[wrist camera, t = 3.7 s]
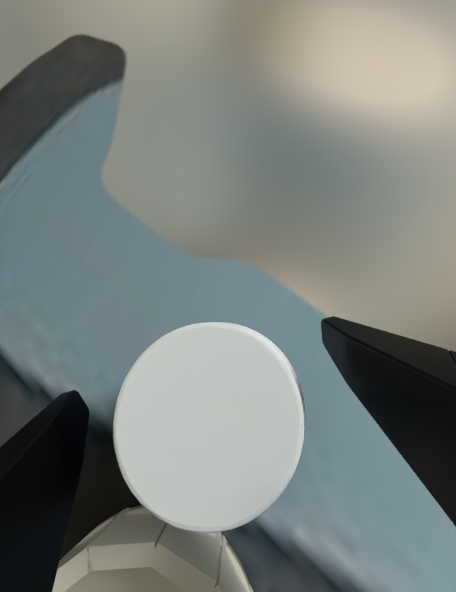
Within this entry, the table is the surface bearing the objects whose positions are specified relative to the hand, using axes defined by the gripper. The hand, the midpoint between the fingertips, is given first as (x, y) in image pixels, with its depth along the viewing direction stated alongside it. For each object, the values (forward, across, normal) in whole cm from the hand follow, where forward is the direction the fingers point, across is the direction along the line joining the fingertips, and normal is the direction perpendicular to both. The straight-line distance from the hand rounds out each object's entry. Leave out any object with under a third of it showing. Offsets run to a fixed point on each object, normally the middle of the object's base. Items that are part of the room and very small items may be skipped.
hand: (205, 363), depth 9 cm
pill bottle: (+4, 0, +6) cm, 7 cm away
